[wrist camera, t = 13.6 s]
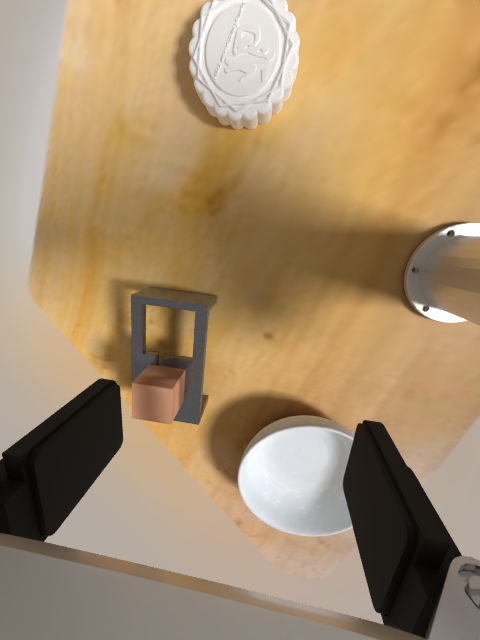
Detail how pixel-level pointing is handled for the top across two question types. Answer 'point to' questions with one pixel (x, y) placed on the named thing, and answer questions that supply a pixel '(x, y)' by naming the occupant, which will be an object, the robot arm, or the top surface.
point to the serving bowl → (298, 475)
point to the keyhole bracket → (192, 366)
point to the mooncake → (244, 59)
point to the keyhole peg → (159, 391)
